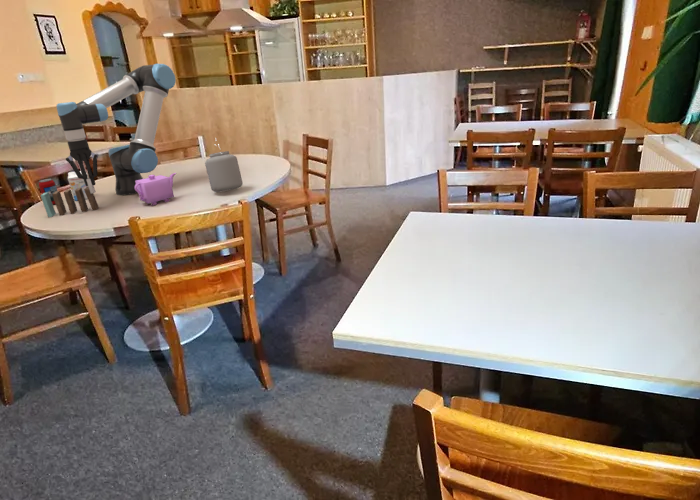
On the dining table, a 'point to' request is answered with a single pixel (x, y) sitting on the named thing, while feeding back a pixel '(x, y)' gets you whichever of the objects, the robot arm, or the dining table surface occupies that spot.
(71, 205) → the domino
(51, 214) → the domino
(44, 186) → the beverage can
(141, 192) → the teapot
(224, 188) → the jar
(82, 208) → the domino
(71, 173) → the ink box
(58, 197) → the domino
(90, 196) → the domino
